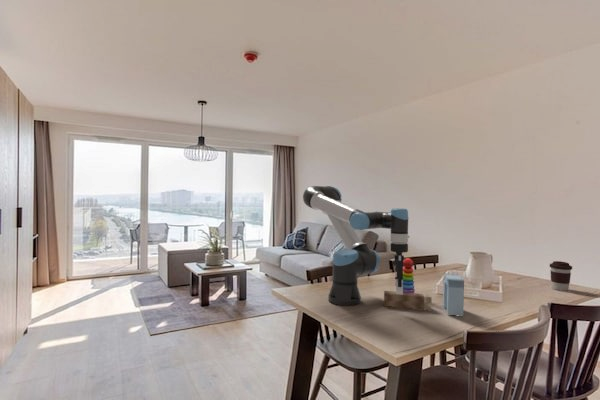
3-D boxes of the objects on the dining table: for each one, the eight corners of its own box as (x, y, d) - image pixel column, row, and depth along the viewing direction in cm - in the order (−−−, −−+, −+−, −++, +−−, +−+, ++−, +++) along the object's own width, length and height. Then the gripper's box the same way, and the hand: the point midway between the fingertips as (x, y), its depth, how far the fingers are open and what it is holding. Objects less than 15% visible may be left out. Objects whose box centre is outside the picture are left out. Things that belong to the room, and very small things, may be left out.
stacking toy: (396, 296, 170) (397, 258, 169) (400, 292, 177) (401, 256, 176) (413, 298, 166) (414, 260, 166) (416, 294, 173) (417, 257, 173)
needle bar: (383, 306, 154) (384, 293, 153) (383, 303, 157) (384, 290, 157) (431, 311, 149) (431, 297, 149) (430, 308, 153) (430, 294, 153)
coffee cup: (576, 292, 183) (577, 264, 183) (557, 291, 183) (558, 263, 183) (562, 287, 193) (563, 260, 193) (544, 286, 193) (545, 260, 193)
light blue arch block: (447, 315, 143) (448, 279, 143) (442, 306, 155) (443, 273, 155) (463, 316, 142) (464, 280, 142) (457, 307, 154) (458, 274, 153)
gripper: (410, 246, 140) (409, 298, 141) (406, 239, 165) (405, 284, 165) (391, 246, 142) (390, 297, 142) (390, 239, 167) (389, 282, 167)
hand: (398, 290), depth 154 cm, fingers open, 13 cm apart
